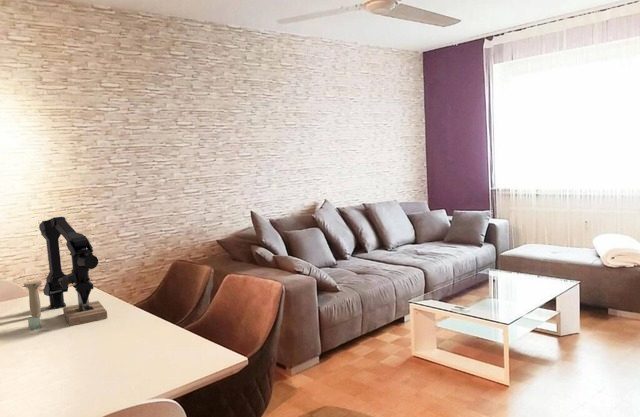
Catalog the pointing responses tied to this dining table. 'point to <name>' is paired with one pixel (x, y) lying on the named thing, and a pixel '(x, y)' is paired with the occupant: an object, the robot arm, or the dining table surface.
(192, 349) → the dining table surface
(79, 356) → the dining table surface
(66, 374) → the dining table surface
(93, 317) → the board
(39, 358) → the dining table surface
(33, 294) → the handle
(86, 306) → the long pin
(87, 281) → the robot arm
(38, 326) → the short pin
